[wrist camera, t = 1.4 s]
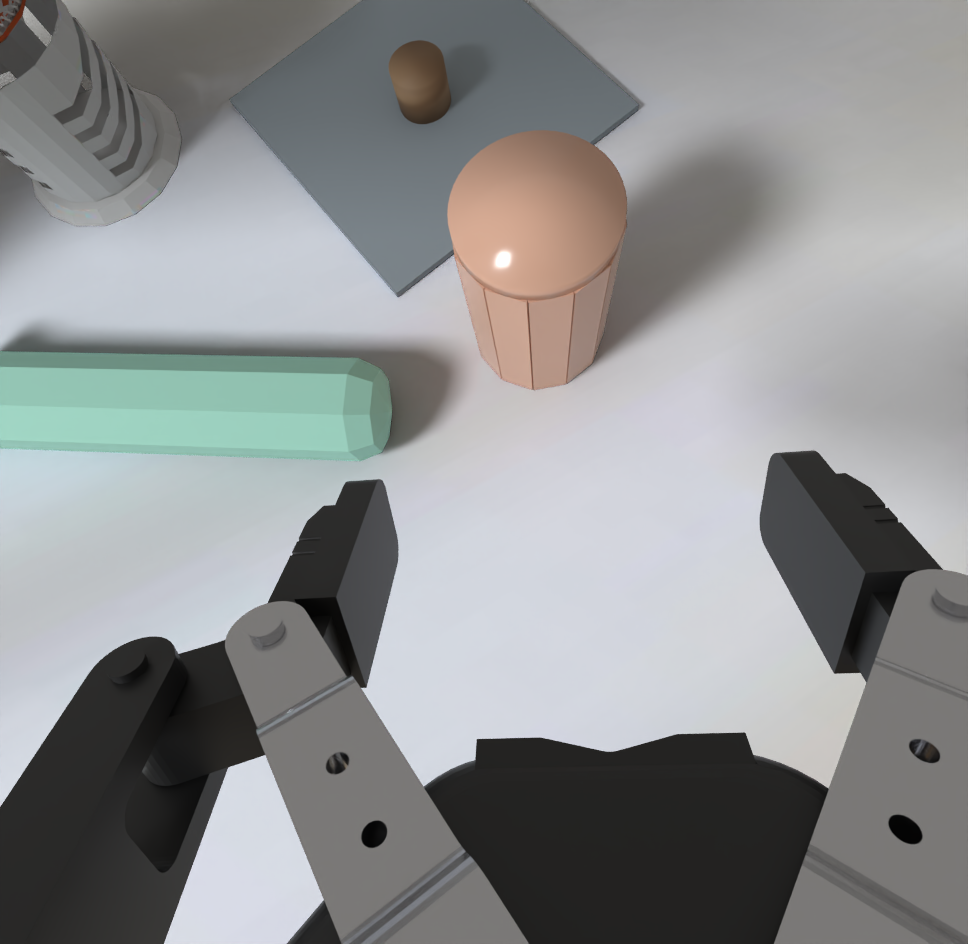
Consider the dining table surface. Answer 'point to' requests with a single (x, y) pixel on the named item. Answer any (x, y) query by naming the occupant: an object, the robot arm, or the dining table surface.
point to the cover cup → (538, 252)
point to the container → (194, 405)
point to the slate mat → (419, 147)
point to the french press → (79, 121)
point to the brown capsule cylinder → (420, 81)
